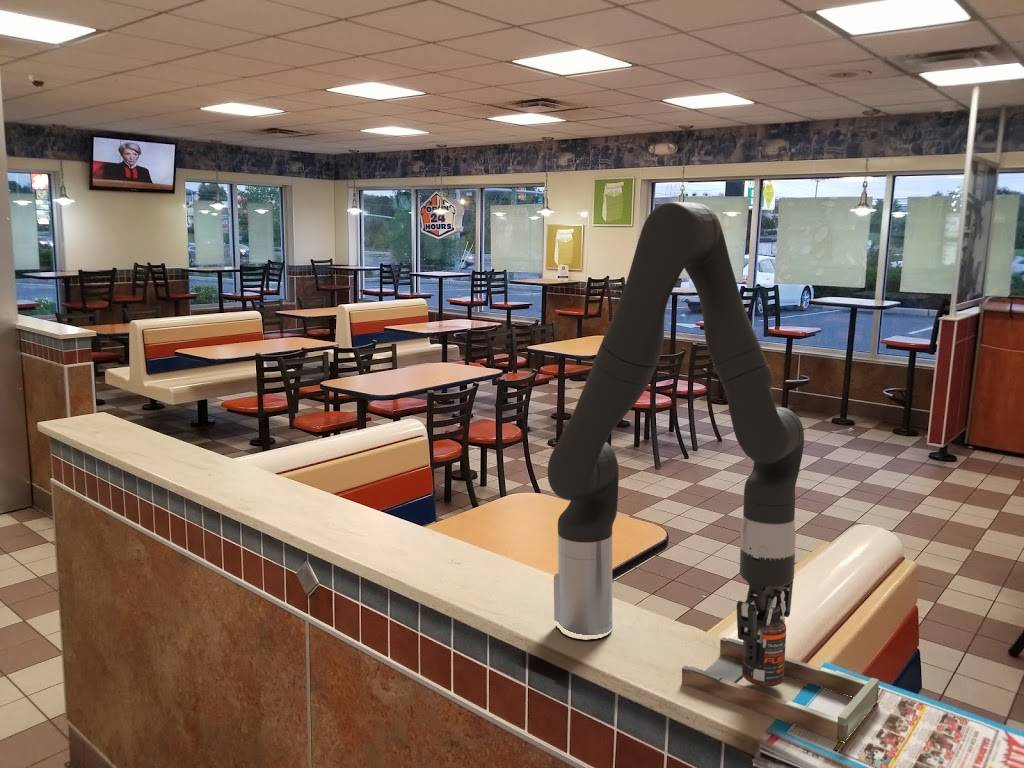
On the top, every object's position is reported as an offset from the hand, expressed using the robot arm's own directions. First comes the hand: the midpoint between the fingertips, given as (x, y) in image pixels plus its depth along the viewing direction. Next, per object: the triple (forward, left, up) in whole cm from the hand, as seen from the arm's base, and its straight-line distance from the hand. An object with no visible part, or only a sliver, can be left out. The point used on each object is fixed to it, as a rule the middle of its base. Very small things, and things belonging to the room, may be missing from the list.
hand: (763, 655), depth 119 cm
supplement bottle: (0, 0, -4) cm, 4 cm away
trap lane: (+2, 0, -5) cm, 6 cm away
